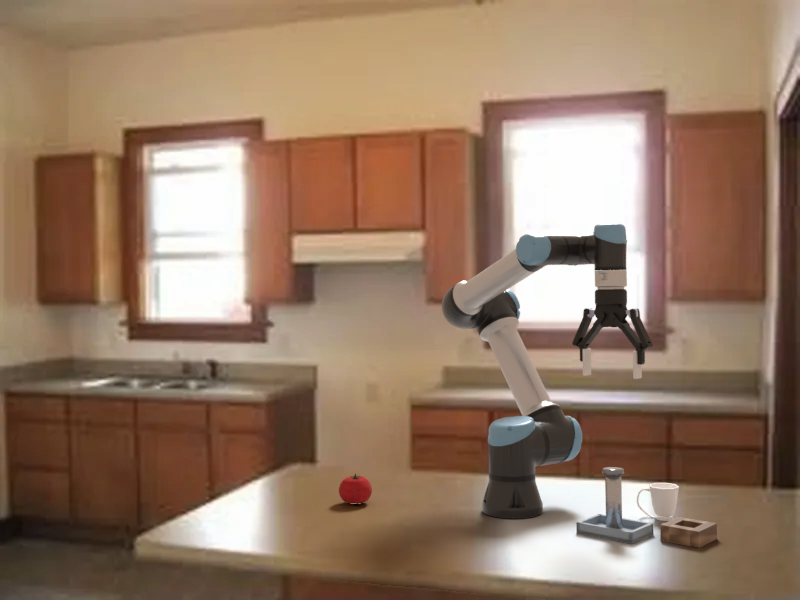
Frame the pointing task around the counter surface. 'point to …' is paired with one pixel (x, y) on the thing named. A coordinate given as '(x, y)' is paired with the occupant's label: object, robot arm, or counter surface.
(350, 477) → the tomato
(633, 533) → the tray
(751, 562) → the counter surface
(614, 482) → the pin
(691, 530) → the socket block
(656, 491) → the cup
